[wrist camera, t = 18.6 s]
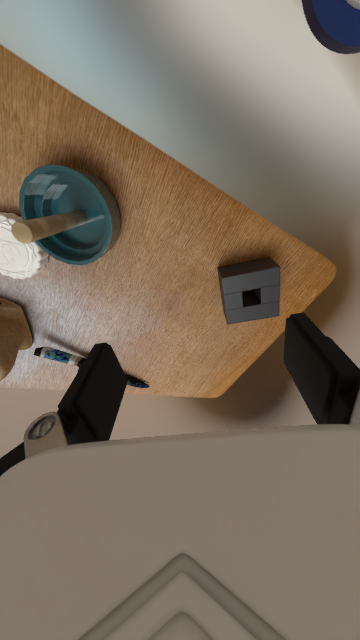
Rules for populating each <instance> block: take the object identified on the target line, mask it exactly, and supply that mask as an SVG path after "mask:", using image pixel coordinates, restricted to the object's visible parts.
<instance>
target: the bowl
mask: <svg viewBox="0 0 360 640" xmlns="http://www.w3.org/2000/svg"><path fill="white" fill-rule="evenodd" d="M19 208H20V212H21V216H22V219H23V221H25V220H30V219H35V218H40V217H45V216H50V215H56V214H61V213H66V212H71V211H76V210H81V211H83V212H84V213H85V214H86V216H87V222H86V223H85V224H83V225H81V226H78V227H75V228H72V229H69V230H66V231H63V232H60V233H57V234H54V235H51V236H48V237H46V238H43V239H40V240H37V241H35V242H36V243H37V244H38V245H39V246H40V248H41V249H42V250H44V251H45V252H46V253H48V254H49V255H51V256H52V257H53V258H55V259H57V260H60V261H62V262H65V263H67V264H75V265H83V264H88V263H92V262H94V261H95V260H97V259H98V258H100V257H101V256H103V255H104V254H105V253H107V252H108V251H109V250H110V249H112V247H113V246H114V244H115V243H116V241H117V240H118V236H119V232H120V227H121V225H120V213H119V210H118V207H117V204H116V201H115V199H114V197H113V196H112V194H111V193H110V191H109V189H108V188H107V187H106V185H104V184H103V183H102V182H101V181H100V180H99V179H98V178H97V177H96V176H94V175H92V174H90V173H88V172H86V171H84V170H82V169H78V168H73V167H67V166H60V165H51V164H49V165H46V166H42V167H39V168H36V169H34V170H33V171H32V172H31V173H30V174H29V175H28V176H27V177H26V178H25V180H24V182H23V185H22V187H21V190H20V199H19Z"/></svg>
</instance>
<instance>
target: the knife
mask: <svg viewBox="0 0 360 640" xmlns="http://www.w3.org/2000/svg"><path fill="white" fill-rule="evenodd" d="M34 355H36V356H39V357H43V358H47V359H51V360H56V361H60V362H64V363H68V364H72V365H77V366H78V367H79V370H80V368H81V367H82V365H83V363H84V362H85V360H86V358H82V357H79V356H76V355H72V354H69V353H66V352H63V351H60V350H57V349H53V348H50V347H40V348H36V349H35V352H34ZM79 370H78V372H79ZM125 376H126V378H127V384H128V385H131V386H134V387H140V388H148V387H149V385H148V384H146V383H144V382H143V381H140V380H138V379H136V378H134V377H131V376H129V375H127V374H125Z"/></svg>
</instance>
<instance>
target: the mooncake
mask: <svg viewBox="0 0 360 640" xmlns="http://www.w3.org/2000/svg"><path fill="white" fill-rule="evenodd" d="M20 221H23V219H22V217H18V216H17V215H16V214H14V213H5V212H0V273H1V274H3V275H9V276H10V277H11V278H19V279H25V278H27V277H28V278H31V277H33V276H34V275H36V274H38V273H39V272H40V271H42V270H44V269H45V265H46V264H47V263H48V258H47V257H48V256H49V254H48V253H46V252H45V251H44V250H42V249H41V248H40V246H39V245H38V244H37V243H36V242H35V241H34V242H31V243H28V244H24V243H21V242H19V241H18V240H17V239H16V238H15V237H14V236H13V234H12V231H11V227H12V225H13V224H14V223H15V222H20Z"/></svg>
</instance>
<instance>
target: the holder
mask: <svg viewBox="0 0 360 640" xmlns="http://www.w3.org/2000/svg"><path fill="white" fill-rule="evenodd" d="M218 275H219V282H220V289H221V297H222V304H223V311H224V314H225V318H226V321H227V324H234V323H240V322H246V321H252V320H258V319H264V318H269V317H275V316H279V303H280V266H279V265H278V264H276V263H275V262H274V261H273V260H272V259H271V258H269V257H268V258H263V259H258V260H253V261H248V262H244V263H239V264H234V265H229V266H224V267H220V268H218ZM252 289H253V292H248V293H243V294H242V291H247V290H252Z"/></svg>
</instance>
